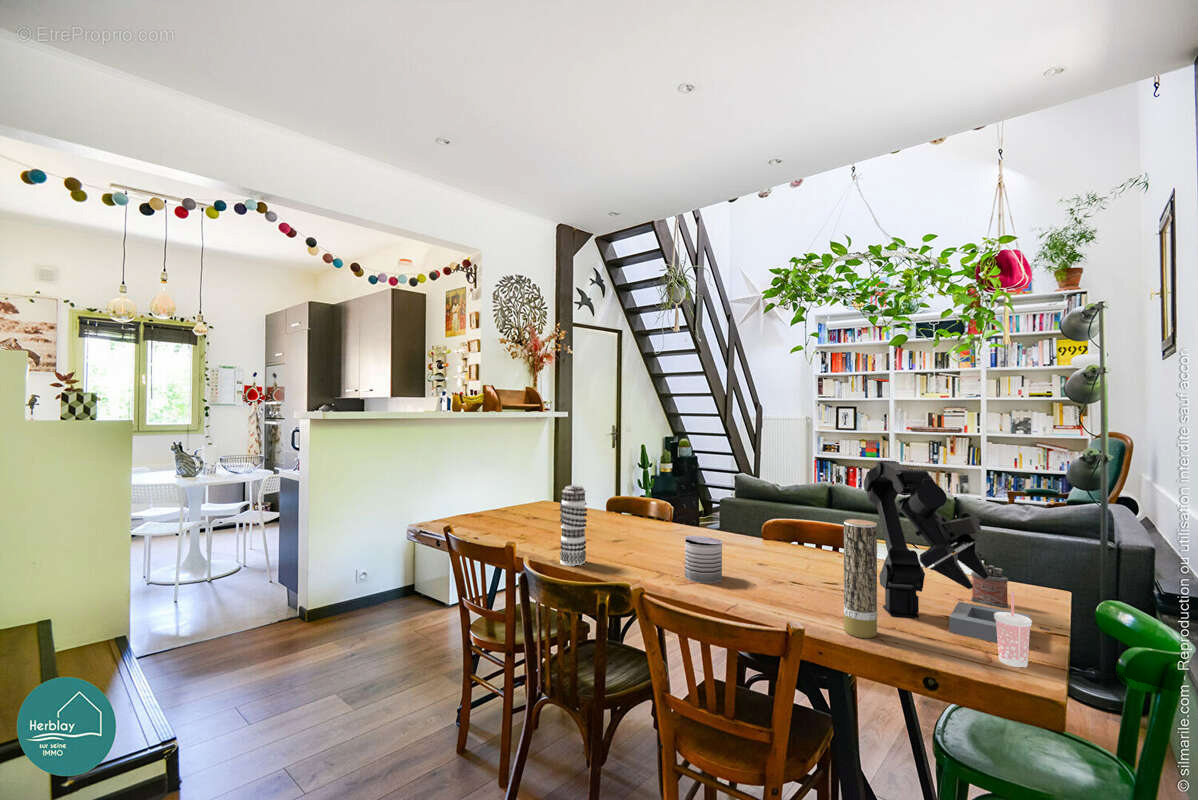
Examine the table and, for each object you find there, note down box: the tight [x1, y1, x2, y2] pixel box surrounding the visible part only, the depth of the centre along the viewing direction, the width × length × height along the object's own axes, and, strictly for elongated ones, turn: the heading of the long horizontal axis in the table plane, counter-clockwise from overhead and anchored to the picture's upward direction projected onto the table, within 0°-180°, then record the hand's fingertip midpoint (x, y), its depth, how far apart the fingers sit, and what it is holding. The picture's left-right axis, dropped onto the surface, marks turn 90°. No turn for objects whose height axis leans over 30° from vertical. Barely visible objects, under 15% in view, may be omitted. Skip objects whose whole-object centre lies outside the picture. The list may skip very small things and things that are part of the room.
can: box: [683, 535, 724, 584], centre depth 168 cm, size 11×11×12 cm
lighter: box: [970, 564, 1009, 609], centre depth 147 cm, size 8×3×10 cm, turn 44°
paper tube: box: [843, 518, 878, 639], centre depth 126 cm, size 7×7×25 cm
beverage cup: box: [994, 591, 1033, 668], centre depth 112 cm, size 6×6×14 cm
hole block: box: [948, 601, 1031, 644], centre depth 128 cm, size 14×14×4 cm
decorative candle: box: [559, 484, 588, 567], centre depth 184 cm, size 9×9×25 cm
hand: (979, 582), depth 119 cm, fingers open, 9 cm apart
